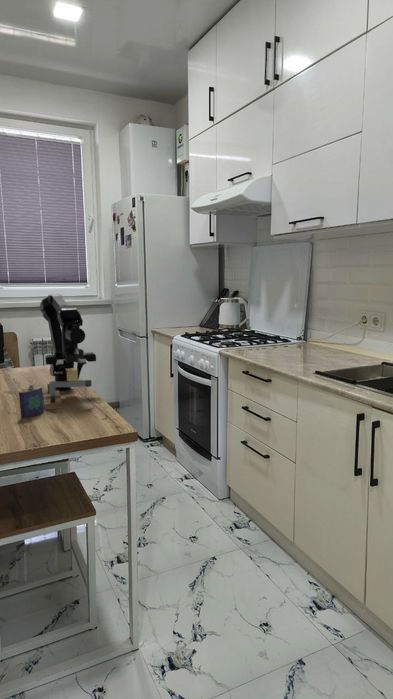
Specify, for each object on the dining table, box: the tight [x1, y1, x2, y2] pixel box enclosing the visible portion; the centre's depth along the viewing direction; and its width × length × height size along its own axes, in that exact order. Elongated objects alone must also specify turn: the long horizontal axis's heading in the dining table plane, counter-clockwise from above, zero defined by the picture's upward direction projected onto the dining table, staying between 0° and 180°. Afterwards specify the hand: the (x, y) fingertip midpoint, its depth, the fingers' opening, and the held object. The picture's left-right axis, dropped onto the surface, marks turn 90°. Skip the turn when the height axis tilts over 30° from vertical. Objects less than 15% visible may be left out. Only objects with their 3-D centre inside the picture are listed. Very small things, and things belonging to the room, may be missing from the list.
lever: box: [48, 379, 93, 402], centre depth 163 cm, size 15×2×7 cm, turn 96°
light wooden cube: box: [66, 367, 79, 381], centre depth 177 cm, size 6×4×5 cm, turn 20°
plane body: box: [42, 383, 63, 411], centre depth 169 cm, size 19×6×5 cm, turn 20°
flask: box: [18, 384, 45, 420], centre depth 153 cm, size 9×3×11 cm, turn 152°
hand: (71, 379), depth 178 cm, fingers closed on light wooden cube, 4 cm apart
